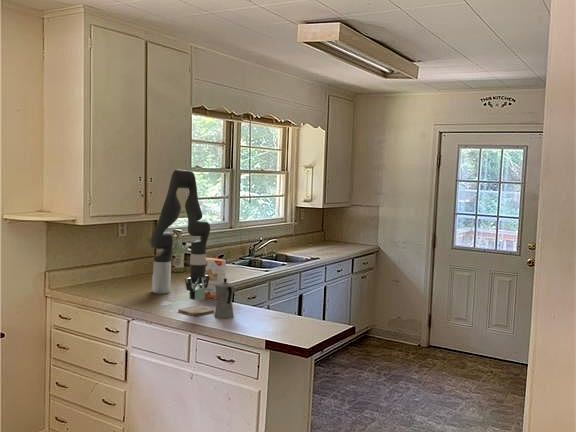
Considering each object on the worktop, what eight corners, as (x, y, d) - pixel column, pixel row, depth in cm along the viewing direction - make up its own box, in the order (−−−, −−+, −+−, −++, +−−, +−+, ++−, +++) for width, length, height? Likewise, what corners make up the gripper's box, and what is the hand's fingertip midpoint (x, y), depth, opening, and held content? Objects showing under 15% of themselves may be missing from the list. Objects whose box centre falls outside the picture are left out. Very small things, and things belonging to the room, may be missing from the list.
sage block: (189, 298, 273) (189, 288, 273) (197, 297, 277) (197, 287, 277) (196, 300, 270) (197, 290, 270) (204, 299, 274) (204, 288, 274)
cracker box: (196, 297, 306) (197, 258, 304) (201, 294, 311) (202, 256, 310) (220, 299, 301) (221, 260, 300) (225, 297, 307) (226, 259, 306)
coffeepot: (210, 313, 273) (211, 276, 272) (229, 312, 277) (230, 275, 275) (219, 321, 259) (221, 282, 258) (239, 320, 263) (241, 281, 261)
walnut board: (178, 311, 273) (178, 309, 273) (197, 307, 283) (197, 305, 282) (195, 316, 266) (195, 314, 266) (214, 312, 275) (214, 309, 275)
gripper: (203, 260, 280) (202, 294, 281) (181, 263, 269) (180, 299, 270) (214, 262, 276) (213, 297, 277) (192, 265, 264) (190, 301, 266)
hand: (196, 298), depth 274 cm, fingers closed on sage block, 5 cm apart
